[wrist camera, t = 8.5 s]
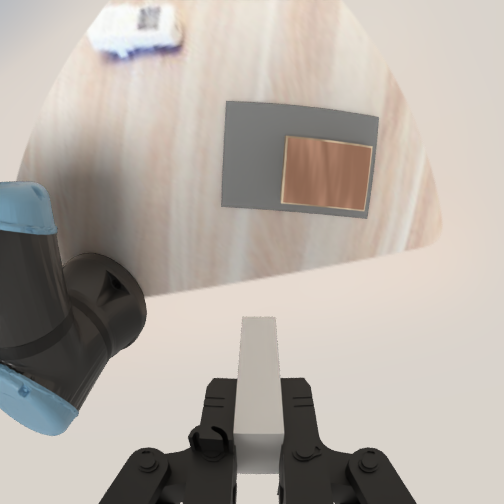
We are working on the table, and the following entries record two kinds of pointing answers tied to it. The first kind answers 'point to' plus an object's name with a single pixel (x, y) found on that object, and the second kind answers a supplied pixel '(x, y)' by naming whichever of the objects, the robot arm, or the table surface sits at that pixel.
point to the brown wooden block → (325, 173)
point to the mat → (282, 150)
